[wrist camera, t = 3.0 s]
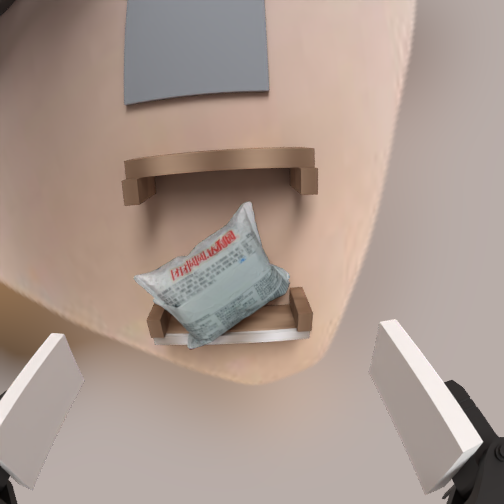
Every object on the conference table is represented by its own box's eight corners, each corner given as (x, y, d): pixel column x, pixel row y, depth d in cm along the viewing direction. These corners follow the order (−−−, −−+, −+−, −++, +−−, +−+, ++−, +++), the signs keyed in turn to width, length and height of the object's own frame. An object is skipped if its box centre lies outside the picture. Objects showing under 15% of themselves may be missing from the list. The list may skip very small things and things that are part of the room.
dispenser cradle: (164, 321, 31) (154, 349, 27) (139, 157, 25) (119, 162, 21) (300, 315, 32) (310, 343, 27) (303, 147, 26) (317, 148, 21)
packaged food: (135, 270, 25) (132, 285, 21) (243, 199, 28) (263, 200, 23) (187, 340, 28) (196, 366, 24) (284, 274, 30) (308, 287, 26)
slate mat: (126, 105, 23) (124, 104, 23) (132, -27, 18) (131, -30, 17) (268, 91, 24) (269, 90, 23) (260, -42, 18) (260, -45, 17)
